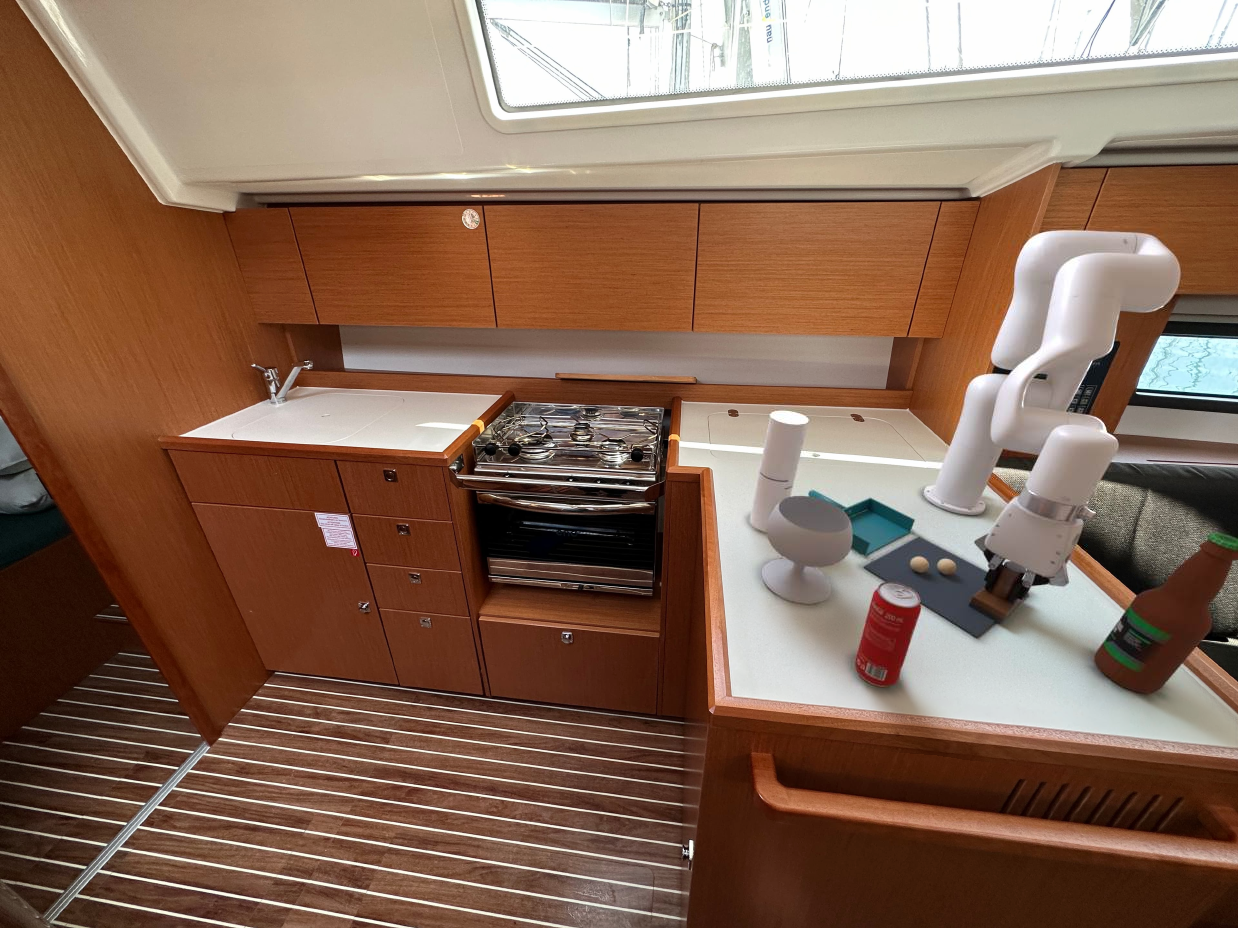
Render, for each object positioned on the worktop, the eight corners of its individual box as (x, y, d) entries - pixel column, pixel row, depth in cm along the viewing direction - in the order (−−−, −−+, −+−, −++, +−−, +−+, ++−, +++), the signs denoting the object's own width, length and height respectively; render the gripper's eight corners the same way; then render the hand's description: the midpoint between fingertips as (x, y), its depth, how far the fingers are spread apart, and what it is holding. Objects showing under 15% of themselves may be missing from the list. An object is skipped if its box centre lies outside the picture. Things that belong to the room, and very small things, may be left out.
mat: (918, 537, 101) (918, 536, 100) (1028, 594, 86) (1029, 593, 86) (863, 567, 91) (863, 566, 91) (976, 637, 76) (977, 636, 76)
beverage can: (902, 692, 66) (938, 614, 60) (853, 683, 67) (883, 605, 61) (889, 659, 72) (921, 583, 65) (844, 651, 73) (871, 575, 66)
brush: (991, 584, 87) (1009, 549, 84) (1023, 600, 84) (1043, 564, 80) (968, 605, 82) (986, 568, 78) (1001, 623, 78) (1022, 586, 75)
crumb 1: (913, 563, 92) (918, 551, 91) (928, 572, 90) (934, 560, 88) (904, 568, 91) (909, 556, 89) (920, 577, 88) (925, 565, 87)
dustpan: (910, 532, 102) (915, 519, 101) (864, 556, 94) (869, 542, 93) (829, 490, 117) (832, 478, 116) (784, 507, 109) (787, 495, 108)
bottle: (1095, 646, 75) (1187, 516, 64) (1159, 677, 70) (1271, 542, 59) (1087, 671, 71) (1185, 536, 59) (1156, 705, 66) (1276, 565, 55)
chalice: (741, 565, 90) (754, 499, 83) (799, 551, 95) (816, 487, 88) (789, 617, 78) (809, 544, 72) (853, 598, 83) (877, 528, 76)
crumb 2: (939, 565, 92) (945, 553, 90) (956, 574, 89) (961, 562, 88) (931, 570, 90) (937, 558, 89) (948, 580, 88) (953, 567, 87)
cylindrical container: (745, 514, 106) (765, 410, 95) (775, 513, 107) (799, 410, 95) (756, 533, 100) (778, 424, 88) (788, 532, 100) (815, 424, 89)
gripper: (1127, 522, 69) (1068, 615, 78) (1001, 475, 81) (961, 560, 90) (1109, 537, 65) (1049, 632, 74) (980, 485, 78) (941, 572, 86)
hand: (1001, 592), depth 82 cm, fingers closed on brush, 3 cm apart
